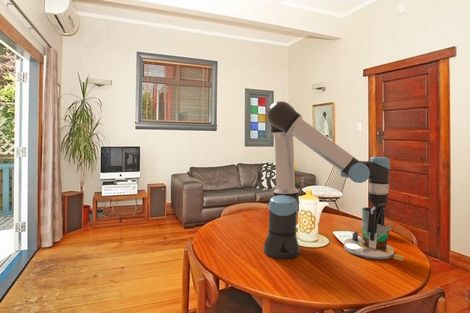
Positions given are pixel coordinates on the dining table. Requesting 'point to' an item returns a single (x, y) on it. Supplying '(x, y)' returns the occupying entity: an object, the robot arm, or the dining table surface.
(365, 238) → the food container
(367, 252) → the grey plate
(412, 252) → the dining table surface
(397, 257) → the index pointer
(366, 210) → the grey cup
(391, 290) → the dining table surface
